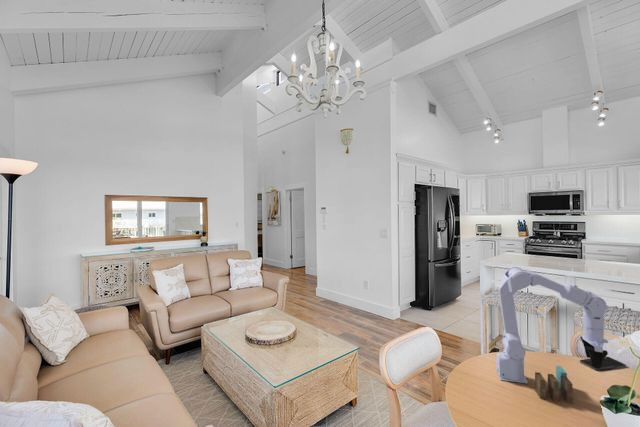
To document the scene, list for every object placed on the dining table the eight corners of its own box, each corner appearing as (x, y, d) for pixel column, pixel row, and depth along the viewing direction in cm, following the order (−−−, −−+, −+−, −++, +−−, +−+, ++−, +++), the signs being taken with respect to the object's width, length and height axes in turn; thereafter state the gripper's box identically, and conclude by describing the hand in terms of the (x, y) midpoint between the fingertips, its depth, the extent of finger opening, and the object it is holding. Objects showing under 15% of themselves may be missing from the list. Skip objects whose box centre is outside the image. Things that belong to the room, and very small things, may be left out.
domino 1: (540, 398, 108) (539, 379, 108) (535, 390, 113) (535, 372, 113) (545, 399, 108) (545, 380, 107) (540, 391, 112) (540, 372, 112)
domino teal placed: (561, 391, 112) (561, 372, 112) (556, 383, 117) (556, 365, 116) (566, 391, 111) (566, 373, 111) (561, 384, 116) (560, 366, 116)
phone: (578, 360, 131) (607, 356, 133) (578, 362, 131) (607, 358, 133) (597, 370, 123) (628, 365, 126) (597, 372, 123) (628, 368, 126)
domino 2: (553, 400, 107) (553, 381, 107) (547, 392, 112) (547, 373, 111) (558, 401, 106) (558, 382, 106) (553, 392, 111) (552, 374, 111)
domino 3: (567, 402, 106) (566, 383, 105) (560, 394, 110) (560, 375, 110) (572, 403, 105) (572, 383, 105) (566, 394, 110) (565, 375, 110)
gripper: (614, 336, 104) (614, 375, 104) (601, 321, 116) (601, 356, 117) (587, 332, 107) (587, 369, 108) (577, 318, 120) (578, 352, 120)
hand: (593, 362), depth 113 cm, fingers open, 7 cm apart
